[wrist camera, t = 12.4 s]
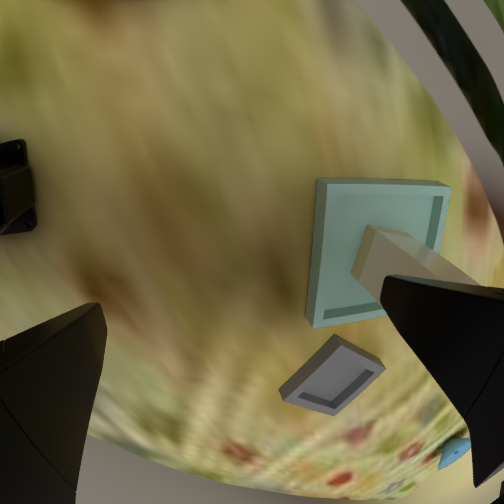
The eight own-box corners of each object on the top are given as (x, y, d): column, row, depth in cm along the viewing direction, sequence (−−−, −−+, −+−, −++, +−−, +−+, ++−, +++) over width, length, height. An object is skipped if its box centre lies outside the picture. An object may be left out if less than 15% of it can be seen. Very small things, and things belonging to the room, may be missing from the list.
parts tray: (305, 316, 27) (312, 329, 25) (317, 177, 22) (327, 183, 20) (413, 297, 29) (423, 307, 27) (437, 181, 24) (451, 187, 22)
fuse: (350, 272, 25) (442, 377, 14) (367, 224, 24) (480, 312, 13) (389, 277, 26) (480, 368, 15) (406, 232, 25) (514, 311, 14)
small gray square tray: (272, 395, 31) (276, 406, 29) (334, 334, 29) (341, 344, 27) (323, 411, 34) (327, 421, 32) (379, 359, 32) (386, 368, 30)
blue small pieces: (436, 457, 56) (452, 483, 48) (423, 453, 51) (442, 483, 43) (493, 407, 53) (513, 431, 44) (488, 397, 48) (511, 425, 40)
